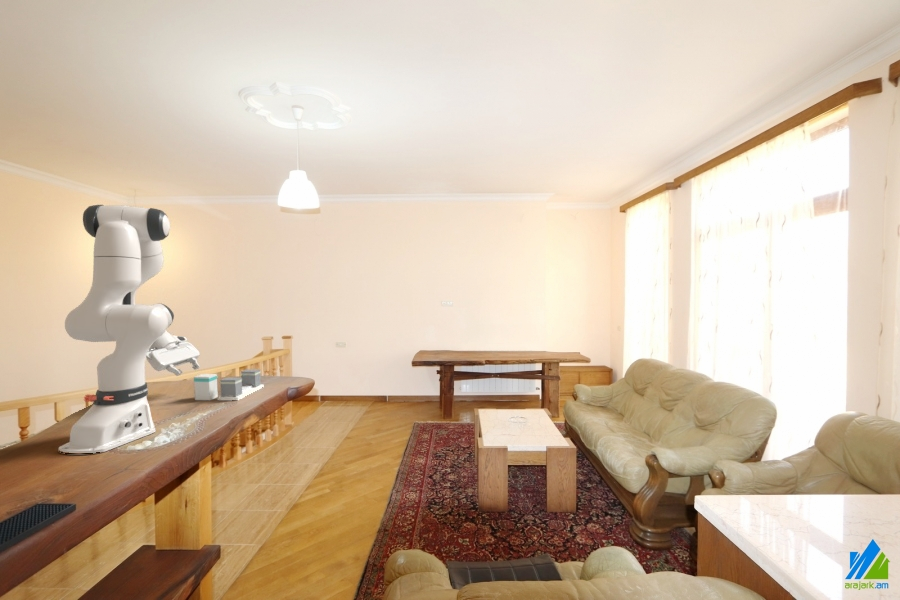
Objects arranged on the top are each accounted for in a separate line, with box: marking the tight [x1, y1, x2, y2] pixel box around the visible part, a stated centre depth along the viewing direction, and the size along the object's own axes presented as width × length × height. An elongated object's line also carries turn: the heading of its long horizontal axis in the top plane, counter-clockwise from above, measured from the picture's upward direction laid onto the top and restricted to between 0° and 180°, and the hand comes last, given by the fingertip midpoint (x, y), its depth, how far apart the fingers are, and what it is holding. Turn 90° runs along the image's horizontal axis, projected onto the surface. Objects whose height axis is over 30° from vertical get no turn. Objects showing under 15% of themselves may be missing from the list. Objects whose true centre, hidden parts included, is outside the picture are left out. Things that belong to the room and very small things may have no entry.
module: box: [193, 373, 219, 401], centre depth 154 cm, size 5×6×9 cm
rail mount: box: [217, 368, 265, 401], centre depth 161 cm, size 18×8×8 cm, turn 175°
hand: (189, 371), depth 155 cm, fingers open, 8 cm apart
